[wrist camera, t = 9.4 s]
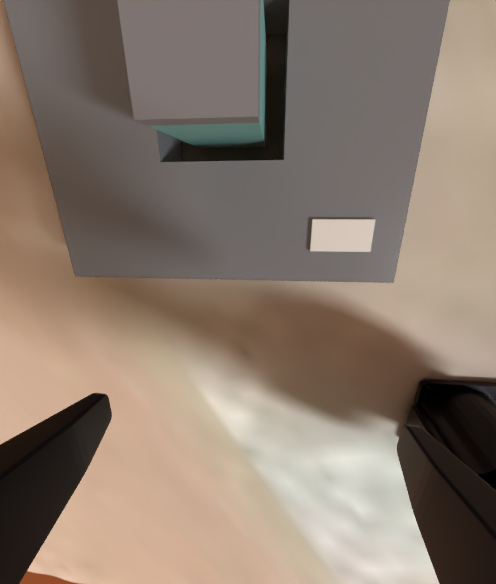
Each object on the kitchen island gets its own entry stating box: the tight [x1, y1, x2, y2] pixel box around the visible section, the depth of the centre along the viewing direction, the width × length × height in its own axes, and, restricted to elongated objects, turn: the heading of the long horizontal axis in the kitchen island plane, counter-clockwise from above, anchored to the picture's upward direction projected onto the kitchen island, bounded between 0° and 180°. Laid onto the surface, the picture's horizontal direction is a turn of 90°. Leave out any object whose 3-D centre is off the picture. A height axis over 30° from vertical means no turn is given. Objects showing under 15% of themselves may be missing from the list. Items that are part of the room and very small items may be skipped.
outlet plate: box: [4, 0, 450, 283], centre depth 14 cm, size 18×18×4 cm
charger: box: [117, 0, 267, 148], centre depth 12 cm, size 4×4×8 cm
